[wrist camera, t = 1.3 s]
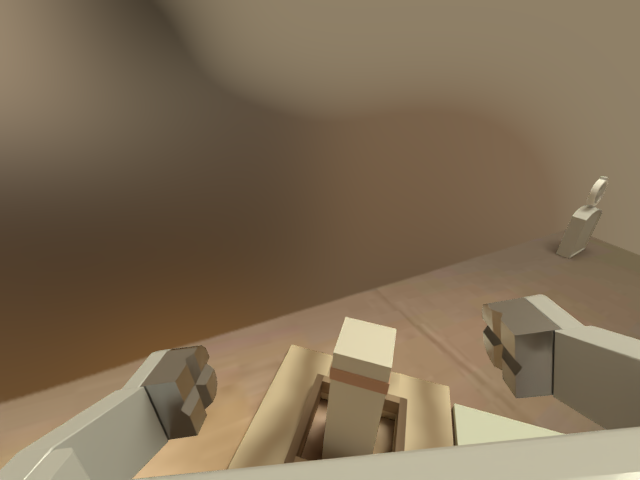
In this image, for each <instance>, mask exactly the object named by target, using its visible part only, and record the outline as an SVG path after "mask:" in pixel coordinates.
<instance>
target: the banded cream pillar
mask: <svg viewBox="0 0 640 480" xmlns="http://www.w3.org/2000/svg"><path fill="white" fill-rule="evenodd" d="M395 337H396V329H394V328H390V327H386V326H381V325H377V324H373V323H369V322H365V321H361V320H356V319H352V318H348V317H346V318H345V321H344V324H343V326H342V329H341V332H340V335H339V338H338V341H337V344H336V347H335V349H334V352H333V361H332V364H331V367H330V375H329V379H330V388H329V397H328V406H327V416H326V425H325V434H324V443H323V452H322V460H323V459H332V458H342V457H351V456H361V455H370V454H373V450H374V445H375V441H376V436H377V432H378V427H379V423H380V418H381V414H382V409H383V405H384V400H385V396H386V395H387V393H388V389H389V385H390V376H391V369H392V361H393V353H394V345H395Z"/></svg>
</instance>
